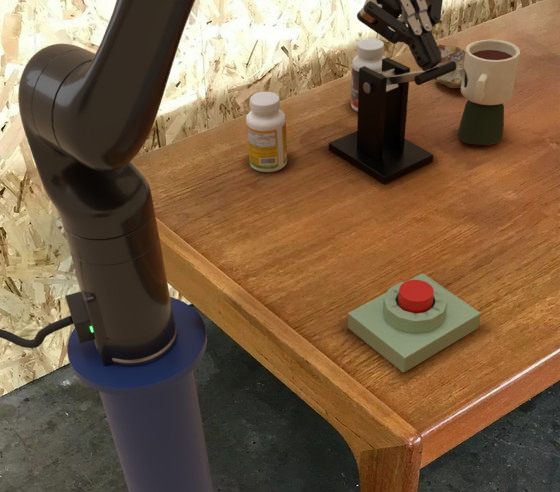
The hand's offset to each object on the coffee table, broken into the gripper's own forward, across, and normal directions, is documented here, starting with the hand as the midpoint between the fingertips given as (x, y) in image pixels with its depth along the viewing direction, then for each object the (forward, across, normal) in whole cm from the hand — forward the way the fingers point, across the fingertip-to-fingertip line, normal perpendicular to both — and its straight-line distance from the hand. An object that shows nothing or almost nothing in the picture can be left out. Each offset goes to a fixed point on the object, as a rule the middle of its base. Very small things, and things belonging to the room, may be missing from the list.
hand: (432, 66), depth 96 cm
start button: (+23, -21, -6) cm, 32 cm away
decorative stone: (-2, +25, +24) cm, 35 cm away
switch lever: (0, 0, +6) cm, 6 cm away
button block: (+26, -21, -4) cm, 34 cm away
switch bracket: (+5, 0, +17) cm, 18 cm away
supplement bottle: (-1, -13, +24) cm, 27 cm away
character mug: (+10, +14, +13) cm, 21 cm away
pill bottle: (-3, +8, +26) cm, 28 cm away
